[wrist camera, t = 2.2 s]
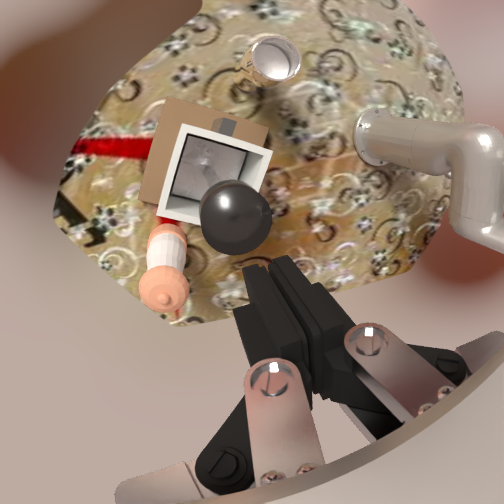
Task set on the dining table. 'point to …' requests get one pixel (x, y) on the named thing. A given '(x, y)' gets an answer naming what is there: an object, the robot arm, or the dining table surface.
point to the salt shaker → (165, 270)
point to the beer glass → (267, 64)
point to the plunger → (222, 197)
